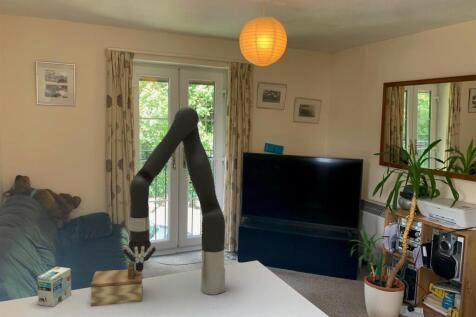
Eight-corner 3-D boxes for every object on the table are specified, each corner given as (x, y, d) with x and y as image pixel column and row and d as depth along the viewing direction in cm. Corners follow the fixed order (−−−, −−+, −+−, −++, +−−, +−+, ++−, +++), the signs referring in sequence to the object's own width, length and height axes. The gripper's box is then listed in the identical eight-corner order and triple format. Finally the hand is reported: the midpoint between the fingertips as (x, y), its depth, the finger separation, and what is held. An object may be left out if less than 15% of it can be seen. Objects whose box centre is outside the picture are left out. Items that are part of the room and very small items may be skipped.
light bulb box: (53, 307, 135) (52, 278, 134) (37, 305, 136) (36, 276, 135) (72, 294, 146) (71, 267, 145) (57, 292, 147) (56, 266, 146)
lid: (142, 270, 152) (142, 258, 151) (141, 283, 140) (141, 270, 139) (95, 274, 147) (95, 261, 147) (90, 286, 136) (90, 273, 135)
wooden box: (142, 288, 152) (142, 271, 152) (141, 301, 141) (141, 283, 140) (95, 291, 148) (95, 274, 147) (91, 306, 136) (90, 287, 136)
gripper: (157, 224, 149) (156, 266, 150) (122, 225, 146) (122, 268, 147) (157, 229, 142) (157, 273, 143) (121, 231, 139) (121, 276, 140)
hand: (139, 271), depth 145 cm, fingers closed
